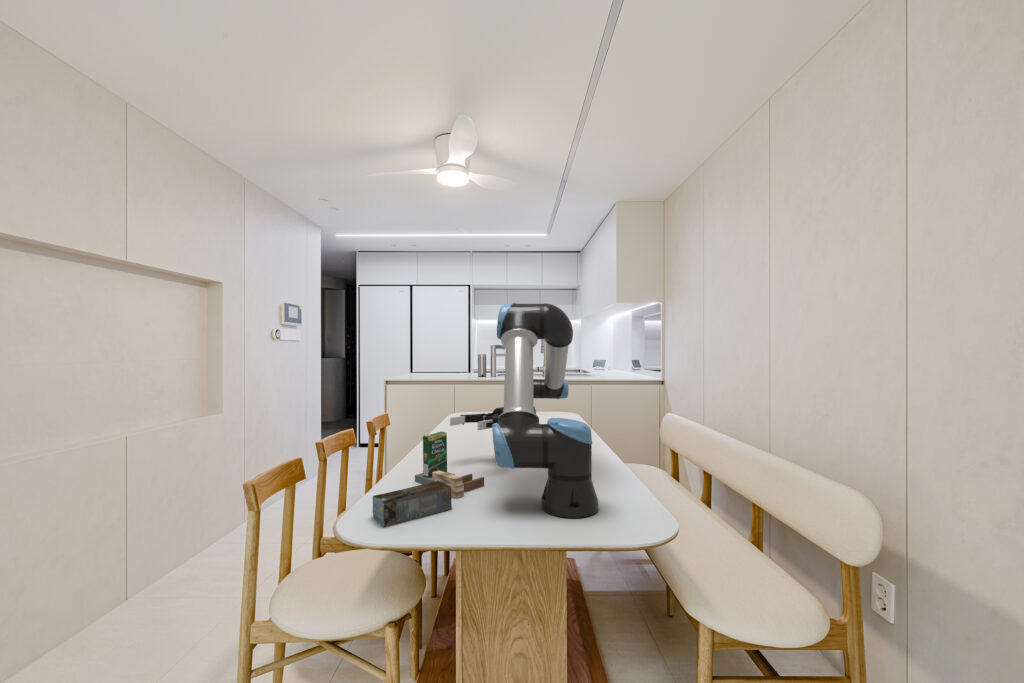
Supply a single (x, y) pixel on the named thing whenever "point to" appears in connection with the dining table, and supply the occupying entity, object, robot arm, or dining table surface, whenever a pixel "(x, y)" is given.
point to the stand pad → (425, 478)
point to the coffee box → (434, 453)
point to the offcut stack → (450, 482)
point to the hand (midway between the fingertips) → (464, 423)
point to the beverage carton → (411, 503)
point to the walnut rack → (472, 482)
